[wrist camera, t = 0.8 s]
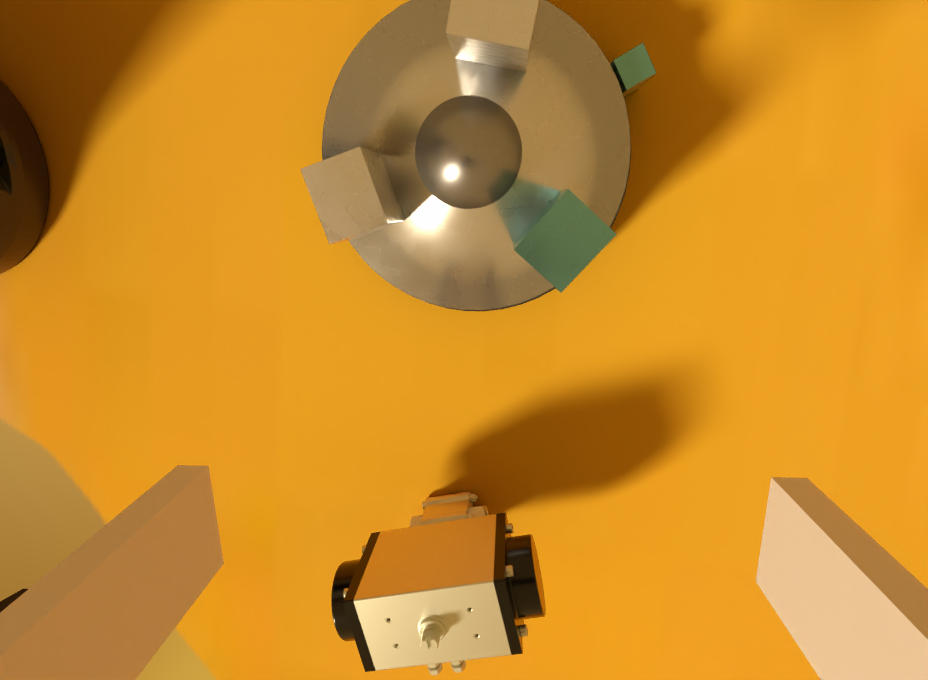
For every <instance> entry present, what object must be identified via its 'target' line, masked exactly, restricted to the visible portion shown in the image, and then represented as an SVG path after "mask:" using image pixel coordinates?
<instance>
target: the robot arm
mask: <svg viewBox="0 0 928 680" xmlns="http://www.w3.org/2000/svg"><path fill="white" fill-rule="evenodd" d="M48 200H49V181H48V172H47V167H46V162H45V157H44V153H43V150H42V147H41V144H40V141H39V139H38V136H37V134H36V132H35V129H34V127H33V125H32V123H31V121H30V120H29V118H28V116H27V114H26V113H25V111H24V109H23V108H22V106H21V105H20V104H19V102H18V101H17V99H16V98H15V97H14V96H13V94H12V93H11V92H10V91H9V90H8V88H7V87H6V86H5V85H4V84H3V83H2V82H1V81H0V274H1V273H3V272H5V271H7V270H9V269H11V268H12V267H14V266H15V265H17V264H18V263H19V262H20V261H21V260H22V259H23V258H24V257H25V256H26V255H27V254H28V253H29V252H30V250H31V249H32V248H33V246H34V245H35V243H36V241H37V239H38V238H39V236H40V233H41V231H42V228H43V225H44V223H45V219H46V215H47V209H48ZM223 564H224V563H223V556H222V550H221V544H220V537H219V531H218V524H217V518H216V512H215V505H214V499H213V492H212V486H211V480H210V473H209V467H208V466H185V465H178V466H177V467H175V468H174V469H173V470H172V471H171V472H169V473H168V474H167V475H166V476H165V477H163V478H162V479H161V480H160V481H159V482H157V483H156V484H155V485H154V486H153V487H151V488H150V489H149V490H148V491H146V492H145V493H144V494H143V495H142V496H140V497H139V498H138V499H137V500H136V501H134V502H133V503H132V504H131V505H130V506H128V507H127V508H126V509H125V510H124V511H122V512H121V513H120V514H119V515H117V516H116V517H115V518H114V519H113V520H111V521H110V522H109V523H108V524H107V525H105V526H104V527H103V528H102V529H101V530H99V531H98V532H97V533H96V534H95V535H93V536H92V537H91V538H90V539H89V540H87V541H86V542H85V543H84V544H82V545H81V546H80V547H79V548H78V549H77V550H75V551H74V552H73V553H72V554H70V555H69V556H68V557H67V558H66V559H64V560H63V561H62V562H61V563H60V564H58V565H57V566H56V567H55V568H54V569H53V570H51V571H50V572H49V573H47V574H46V575H45V576H44V577H43V578H42V579H40V580H39V581H38V582H37V583H35V584H34V585H33V586H32V587H31V588H30V589H22V590H20V591H18V592H17V593H15V594H13V595H11V596H10V597H8V598H6V599H4V600H2V601H1V602H0V680H135V679H136V678H137V676H139V674H140V673H141V672H142V670H143V669H144V668H145V666H146V665H147V664H148V662H149V661H150V660H151V658H152V657H153V656H154V654H155V653H156V652H157V651H158V649H159V648H160V646H161V645H162V644H163V643H164V641H165V640H166V639H167V637H168V636H169V635H170V633H171V632H172V631H173V629H174V628H175V627H176V625H177V624H178V623H179V622H180V620H181V619H182V618H183V616H184V615H185V614H186V612H187V611H188V610H189V608H190V607H191V606H192V604H193V603H194V602H195V600H196V599H197V598H198V597H199V595H200V594H201V593H202V591H203V590H204V589H205V587H206V586H207V585H208V583H209V582H210V581H211V579H212V578H213V577H214V575H215V574H216V573H217V572H218V570H219V569H220V568H221V566H222V565H223ZM756 582H757V584H758V585H759V587H760V589H761V590H762V592H763V593H764V595H765V596H766V598H767V599H768V601H769V602H770V604H771V605H772V607H773V608H774V610H775V611H776V613H777V614H778V616H779V617H780V619H781V620H782V622H783V623H784V625H785V626H786V628H787V629H788V631H789V632H790V634H791V635H792V637H793V638H794V640H795V641H796V643H797V644H798V646H799V647H800V649H801V650H802V652H803V653H804V655H805V657H806V658H807V660H808V661H809V663H810V664H811V666H812V667H813V669H814V670H815V672H816V673H817V675H818V676H819V678H820V679H821V680H928V589H927V588H926V587H925V586H924V585H923V584H922V583H921V582H919V581H918V580H917V579H916V578H915V577H914V576H913V575H912V574H911V573H910V572H909V571H908V570H906V569H905V568H904V567H903V566H902V565H901V564H900V563H899V562H898V561H897V560H896V559H894V558H893V557H892V556H891V555H890V554H889V553H888V552H887V551H886V550H885V549H884V548H883V547H881V546H880V545H879V544H878V543H877V542H876V541H875V540H874V539H873V538H872V537H871V536H869V535H868V534H867V533H866V532H865V531H864V530H863V529H862V528H861V527H860V526H859V525H857V524H856V523H855V522H854V521H853V520H852V519H851V518H850V517H849V516H848V515H847V514H846V513H844V512H843V511H842V510H841V509H840V508H839V507H838V506H837V505H836V504H835V503H834V502H832V501H831V500H830V499H829V498H828V497H827V496H826V495H825V494H824V493H823V492H822V491H820V490H819V489H818V488H817V487H816V486H815V485H814V484H813V483H812V482H811V481H810V480H809V479H807V478H780V477H771V483H770V490H769V496H768V503H767V510H766V516H765V523H764V530H763V536H762V543H761V550H760V556H759V563H758V570H757V576H756Z"/></svg>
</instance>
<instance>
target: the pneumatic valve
mask: <svg viewBox="0 0 928 680" xmlns="http://www.w3.org/2000/svg"><path fill="white" fill-rule="evenodd" d="M477 499H478V497H477V495H475V494H471V493H470V492H469V491H467V492H461V493H455V494H448V495H442V496H436V497H430V498H426V501H425V502H423V509H424V514H423V515H419V516H414V517H412V519H411V527H408V528H402V529H395V530H389V531H382V532H376V533H371V536H370V538H369V540H368V543H367V545H364V546H363V547H362V552H363V555H362V557H361V559H359V560H352V561H345V562H343V563H342V564H341V565H340V566H339V567H338V569H337V571H336V574H335V577H334V581H333V586H332V615H333V620H334V624H335V628H336V630H337V633H338V634H339V636H340V637H341V638H342V639H343V640H344V641H353V640H355V641H356V644H357V647H358V651H359V654H360V657H361V660H362V663H363V666H364V669H365V672H368V671H377V670H385V669H394V668H403V667H411V666H420V665H428V666H427V667H428V670H429V672H430V674H431V675H437V674H439V673H440V672H441V670H442V668H443V667H442V664H441V663H445V662H451V663H450V664H451V667H452V669H453V671H454V672H457V673H458V672H461V671H463V670H464V669H465V666H466V663H465V661H464V660H471V659H480V658H488V657H497V656H506V655H514V654H523V647H522V636H527V635H528V631H527V626H526V624H525V625H524V619H529V618H537V617H544V616H545V598H544V591H543V584H542V577H541V571H540V566H539V560H538V555H537V551H536V546H535V543H534V539H533V537H532V535H531V534H528V535H522V536H515V537H511V533H513V525H512V523H509V524H508V520H507V515H506V513H499V514H493V515H489V514H488V510H487V507H486V505H483V506H477V507H473V505H472V502H476V500H477Z"/></svg>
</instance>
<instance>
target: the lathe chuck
mask: <svg viewBox="0 0 928 680" xmlns="http://www.w3.org/2000/svg"><path fill="white" fill-rule="evenodd" d="M630 147H631V146H630V128H629V120H628V115H627V109H626V104H625V100H624V97H623V94H622V91H621V88H620V85H619V82H618V80H617V78H616V76H615V73H614V71H613V69H612V67H611V65H610V63H609V61H608V60H607V58H606V57H605V55H604V54H603V52H602V51H601V49H600V48H599V46H598V45H597V43H596V42H595V41H594V40H593V39H592V37H591V36H590V35H589V34H588V33H587V32H586V31H585V29H584V28H583V27H582V26H581V25H580V24H578V23H577V22H576V21H575V20H574V19H572V18H571V17H570V16H569V15H568V14H567V13H565V12H564V11H562V10H561V9H559V8H558V7H556V6H554V5H553V4H551V3H550V2H548V1H546V0H410V1H408V2H406V3H405V4H403V5H401V6H399V7H398V8H396V9H395V10H394V11H392V12H391V13H389V14H388V15H387V16H385V17H384V18H383V19H381V20H380V21H379V22H378V23H377V24H376V25H375V26H374V27H373V28H372V29H371V30H370V31H369V32H367V34H366V35H365V36H364V37H363V39H362V40H361V41H360V42H359V43H358V45H357V46H356V47H355V48H354V50H353V51H352V53H351V54H350V56H349V58H348V59H347V61H346V62H345V64H344V66H343V67H342V69H341V72H340V74H339V76H338V78H337V80H336V83H335V85H334V87H333V90H332V93H331V96H330V100H329V103H328V106H327V110H326V116H325V121H324V127H323V141H322V158H323V161H320V162H318V163H315V164H313V165H310V166H307V167H305V168H302V169H301V172H302V175H303V177H304V180H305V182H306V185H307V187H308V190H309V193H310V195H311V198H312V200H313V203H314V205H315V208H316V210H317V213H318V216H319V218H320V221H321V223H322V226H323V228H324V231H325V234H326V236H327V239H328V241H329V244H333V243H337V242H342V241H346V240H349V241H350V243H351V245H352V246H353V247H354V248H355V250H356V251H357V252H358V253H359V255H360V256H361V257H362V259H363V260H364V261H365V262H366V263H367V264H368V265H369V266H370V267H371V268H372V269H373V270H374V271H375V272H376V273H377V274H379V275H380V276H381V277H383V278H384V279H385V280H386V281H388V282H389V283H390V284H392V285H393V286H395V287H397V288H398V289H400V290H402V291H403V292H405V293H407V294H409V295H411V296H413V297H415V298H418V299H420V300H423V301H425V302H428V303H431V304H435V305H439V306H442V307H447V308H454V309H461V310H486V309H495V308H502V307H506V306H510V305H514V304H518V303H521V302H524V301H526V300H529V299H531V298H534V297H536V296H538V295H540V294H542V293H544V292H546V291H548V290H549V289H551V288H553V287H555V288H556V289H557V290H559V291H560V292H562V291H563V290H564V289H565V288H566V287H567V286H568V285H569V284H570V283H571V282H572V281H573V279H574V278H575V277H576V276H577V275H578V274H579V273H580V272H581V271H582V270H583V269H584V268H585V267H586V266H587V265H588V264H589V263H590V262H591V261H592V260H593V258H594V257H595V256H596V255H597V254H598V253H599V252H600V251H601V250H602V249H603V248H604V247H605V246H606V245H607V244H608V243H609V242H610V241H611V240H612V239H613V237H614V236H615V235H616V233H615V232H614V231H613V230H612V229H611V228H610V225H611V223H612V221H613V219H614V217H615V215H616V213H617V211H618V208H619V205H620V202H621V199H622V196H623V193H624V190H625V185H626V180H627V175H628V170H629V160H630Z"/></svg>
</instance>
